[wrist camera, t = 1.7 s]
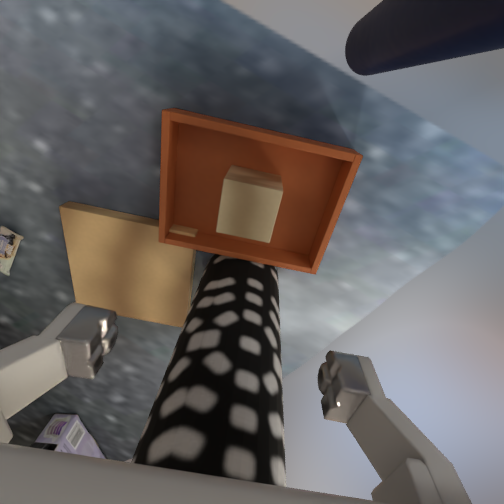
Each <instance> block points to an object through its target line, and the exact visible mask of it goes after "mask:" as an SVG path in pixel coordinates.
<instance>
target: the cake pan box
mask: <svg viewBox="0 0 504 504" xmlns="http://www.w3.org/2000/svg"><path fill="white" fill-rule="evenodd" d="M30 447H33V448H39V449H46V450H52V451H58V452H65V453H71V454H78V455H84V456H90V457H97V458H103V459H106V458H105V457H104V455H103V454H102V452H101V451H100V449H99V448H98V447H99V446H98V444H97V443H96V441H95V439H94V438H93V437H92V435H90V434H89V433H88V431H87V430H86V428H85V427H84V425H83V423H82V422H81V420H80V419H79V416H78V415H77V414H59V413H56V414H54V415H53V417H52V418H51V420H50V421H49V422H48V424H47V425H46V427H45V428H44V429H43V431H42V432H41V434H40V435H39V436H38V438H37V439H36V441H35V442H34V443H33V444H32V445H31V446H30Z"/></svg>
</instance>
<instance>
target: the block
mask: <svg viewBox="0 0 504 504" xmlns="http://www.w3.org/2000/svg"><path fill="white" fill-rule="evenodd" d="M282 195H283V186H282V178H281V176H280V175H275V174H271V173H266V172H262V171H257V170H253V169H248V168H244V167H240V166H235V165H231V167H230V169H229V170H228V172H227V174H226V176H225V177H224V180H223V187H222V193H221V200H220V207H219V213H218V220H217V227H216V232H218V233H223V234H228V235H233V236H238V237H242V238H247V239H252V240H257V241H261V242H266V243H269V242H270V239H271V235H272V232H273V228H274V224H275V221H276V217H277V213H278V210H279V206H280V202H281V199H282Z"/></svg>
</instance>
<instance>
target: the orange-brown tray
mask: <svg viewBox="0 0 504 504" xmlns="http://www.w3.org/2000/svg"><path fill="white" fill-rule="evenodd" d="M362 158H363V155H361V154H360V153H358V152H357V151H355V150H354V149H350V148H346V147H341V146H337V145H333V144H328V143H324V142H320V141H315V140H311V139H307V138H303V137H298V136H294V135H290V134H285V133H281V132H277V131H272V130H268V129H264V128H259V127H255V126H251V125H246V124H242V123H238V122H233V121H229V120H225V119H220V118H216V117H212V116H207V115H203V114H199V113H194V112H190V111H186V110H181V109H177V108H170V109H163V110H162V128H161V166H160V204H159V242H160V243H165V244H170V245H175V246H179V247H184V248H189V249H194V250H199V251H204V252H209V253H213V254H218V255H223V256H228V257H233V258H238V259H243V260H248V261H252V262H257V263H262V264H267V265H272V266H277V267H282V268H286V269H291V270H296V271H301V272H306V273H311V274H316V272H317V270H318V267H319V265H320V262H321V260H322V257H323V255H324V252H325V250H326V247H327V245H328V242H329V240H330V237H331V235H332V232H333V230H334V227H335V225H336V222H337V220H338V217H339V215H340V212H341V210H342V207H343V205H344V202H345V200H346V197H347V195H348V192H349V190H350V187H351V185H352V183H353V180H354V178H355V175H356V173H357V170H358V168H359V165H360V163H361V160H362ZM231 165H235V166H240V167H244V168H248V169H253V170H257V171H262V172H266V173H271V174H275V175H280V176H281V178H282V186H283V195H282V199H281V202H280V206H279V210H278V213H277V217H276V221H275V224H274V228H273V232H272V235H271V239H270V242H269V243H266V242H261V241H257V240H252V239H247V238H242V237H238V236H233V235H228V234H223V233H218V232H216V227H217V220H218V213H219V207H220V200H221V193H222V187H223V180H224V177H225V176H226V174H227V172H228V170H229V169H230V167H231ZM173 224H175V225H180V226H185V227H190V228H195V229H198V233H197V235H196V237H191V236H186V235H181V234H177V233H172V232H169V230H170V228H171V227H172V225H173Z"/></svg>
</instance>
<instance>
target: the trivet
mask: <svg viewBox="0 0 504 504" xmlns="http://www.w3.org/2000/svg"><path fill="white" fill-rule="evenodd" d="M59 209H60V215H61V221H62V226H63V232H64V237H65V243H66V249H67V254H68V260H69V265H70V271H71V276H72V282H73V288H74V293H75V299H76V303H80V304H85V305H91V306H95V307H100V308H105V309H109V310H114V311H116V313H117V315H119V316H124V317H130V318H135V319H140V320H145V321H151V322H156V323H161V324H166V325H172V326H177V327H182V328H183V325H184V323H185V320H186V317H187V315H188V312H189V310H190V302H191V293H192V284H193V275H194V266H195V257H196V250H194V249H189V248H184V247H179V246H175V245H170V244H165V243H160V242H159V220H157V219H152V218H147V217H143V216H138V215H133V214H128V213H123V212H119V211H114V210H109V209H104V208H100V207H95V206H90V205H85V204H81V203H76V202H71V201H68V202H66V203H64V204H62V205H61V206H59ZM169 232H172V233H177V234H181V235H186V236H191V237H196V235H197V233H198V229H195V228H190V227H185V226H180V225H175V224H173V225H172V227H171V228H170V230H169Z"/></svg>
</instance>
